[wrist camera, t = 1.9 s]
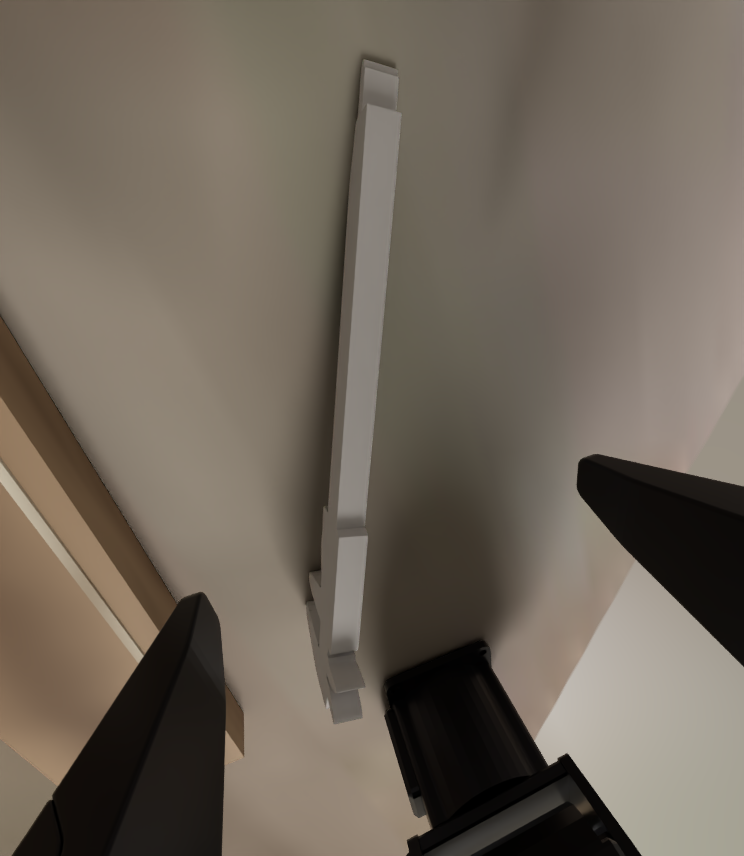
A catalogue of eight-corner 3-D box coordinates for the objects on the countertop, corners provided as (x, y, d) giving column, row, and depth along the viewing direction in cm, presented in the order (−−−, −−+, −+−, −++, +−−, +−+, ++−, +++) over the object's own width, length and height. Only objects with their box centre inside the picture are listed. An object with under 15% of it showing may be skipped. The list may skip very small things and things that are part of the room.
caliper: (326, 601, 20) (359, 743, 14) (304, 604, 19) (329, 750, 14) (393, 73, 12) (528, -66, 6) (356, 62, 11) (466, -95, 6)
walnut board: (-90, 170, 9) (-167, 156, 8) (243, 713, 21) (244, 759, 19) (-448, 225, 8) (-638, 224, 7) (110, 767, 20) (97, 822, 18)
